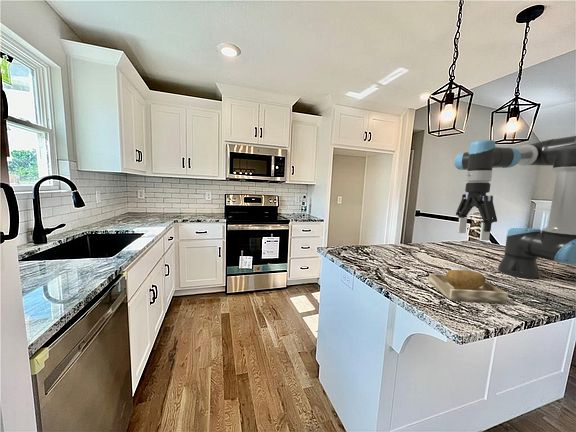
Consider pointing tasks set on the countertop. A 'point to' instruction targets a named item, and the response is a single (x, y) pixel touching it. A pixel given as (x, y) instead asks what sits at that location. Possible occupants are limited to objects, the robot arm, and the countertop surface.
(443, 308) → the countertop surface
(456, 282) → the potato
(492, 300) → the tray
